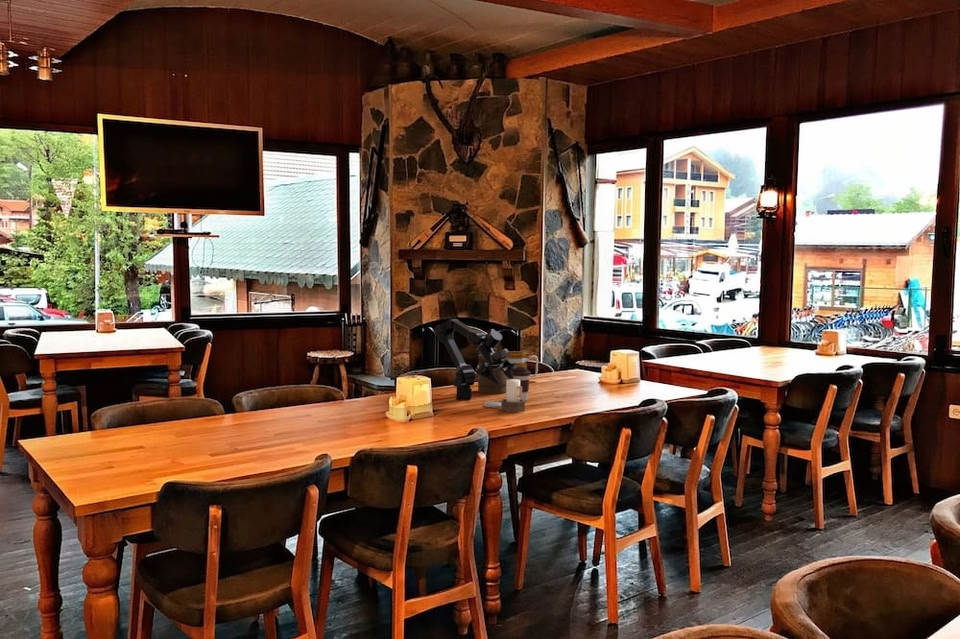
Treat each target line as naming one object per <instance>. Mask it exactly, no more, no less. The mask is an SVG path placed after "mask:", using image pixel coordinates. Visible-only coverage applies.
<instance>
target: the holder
mask: <svg viewBox="0 0 960 639" xmlns="http://www.w3.org/2000/svg"><path fill="white" fill-rule="evenodd" d="M500 402H501V408H500V409H501V410H503V411H502V412H505V411H508V412H507V413H520V412H519V411H522V412H525V411H526V410H525V409H526V404H525V403H526V402H525V400H523V399H520V402H517V403H515V402H506V398H505V399H504V398H503V399H501V400H500Z"/></svg>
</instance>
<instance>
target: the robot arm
mask: <svg viewBox="0 0 960 639" xmlns="http://www.w3.org/2000/svg"><path fill="white" fill-rule="evenodd" d="M455 331H456V332H458V333H459V334H460V335H463V337H465V338H466V339H467V342H469V343H470V344H471V345H472V346H477V347H476V350H475V354H481V355H482V357H483V359H484V360H483V362H484V363H482V364H481V366H480V367H479V368H478V367H477V375H478V374H479V376H481V375H482V376H483V377H486V378H488V379H489V380H491V381H493V382H494V383H496V384H498V383H499V382H498V379H497V378H496V376H495V374H494V372H493V370H496V369H501V370H502V371H503V372H504V374H505V375H506V376H507V377H508V378H509V379H514V377H513V372H512V368H513V367H514V365H515V364H516V363H515V362H514V360H506V361H505V362H504V363H503V364H501V362H503V359H504V358H506V357H508V355H509V350H508V349H507V348H504V349H502V350H496V352H494V350H493V349H492V348H497V346H498V345H499V343H500V342H501V341H502V340H503V335H502V333H500V332H498V331H497V330H495V329H494V328H490V329H489V331H488V333H486V332H485V331H482V330H479V329H477V330H476V329H473V328H472V327H470V326H468V325H467V324H465V323H464V322H462V321H460V320H459V319H457V318H452V319H448V320H446V321H445V322H443V323H440V324H437V325H435V327H434V330H433V332H434V334H435V336H436V338H437V340H438V341H440V342H441V343H443V345H444V346H445V348H446V351H447V353H448V355H449V357H450V358H451V361H452V362H453V365H454V368H455V376H456V377H455V378H454V379H453V381H452V385H453V387H456V397H455V400H457V401H471V399H472V396H473V394H472V393H473V391H472V390H473V389H472V388H471V386H474V385H475V381H476V370H474V368H473V366H472V364H467V363H466V361H465V360H464V357H463V355H462V354H461V351H460V349H459V348H458V345H457V343H456V342H455V339H454V334H455V333H454V332H455Z"/></svg>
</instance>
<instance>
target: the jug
mask: <svg viewBox="0 0 960 639" xmlns="http://www.w3.org/2000/svg"><path fill="white" fill-rule="evenodd" d="M505 395H506V396H505V399H506V402H515V403H517V402H520V398H522V386H520V380H519V379H507V380H506V393H505Z"/></svg>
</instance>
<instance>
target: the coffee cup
mask: <svg viewBox="0 0 960 639" xmlns="http://www.w3.org/2000/svg"><path fill="white" fill-rule="evenodd" d="M512 372H513V377H514V379H519V380H520V386H522V398H520V399H523V400H525V401H527V400H528V394H529V388H530V376H529V375H531V370H528V367H527V368H525V367H514V368H512Z"/></svg>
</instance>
